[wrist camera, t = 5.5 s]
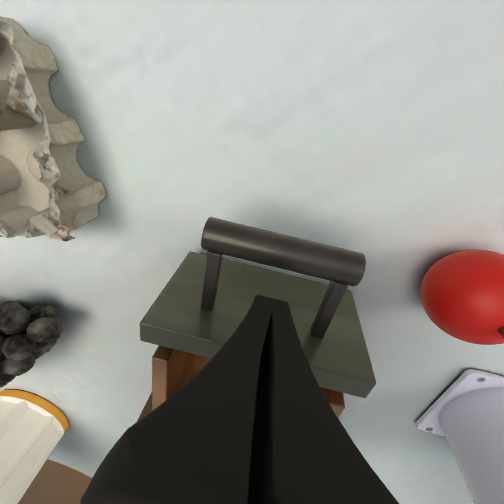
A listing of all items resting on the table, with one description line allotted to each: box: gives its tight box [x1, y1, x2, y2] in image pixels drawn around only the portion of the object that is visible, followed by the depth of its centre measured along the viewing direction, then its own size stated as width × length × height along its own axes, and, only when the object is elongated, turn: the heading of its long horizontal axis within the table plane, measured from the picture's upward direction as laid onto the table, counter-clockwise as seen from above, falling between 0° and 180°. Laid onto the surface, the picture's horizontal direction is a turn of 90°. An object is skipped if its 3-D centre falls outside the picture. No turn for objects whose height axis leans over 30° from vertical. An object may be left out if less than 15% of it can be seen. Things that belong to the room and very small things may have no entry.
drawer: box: [140, 217, 376, 417], centre depth 17 cm, size 18×10×6 cm, turn 169°
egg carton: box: [0, 17, 105, 241], centre depth 14 cm, size 11×8×4 cm
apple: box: [421, 250, 504, 345], centre depth 14 cm, size 5×5×5 cm
